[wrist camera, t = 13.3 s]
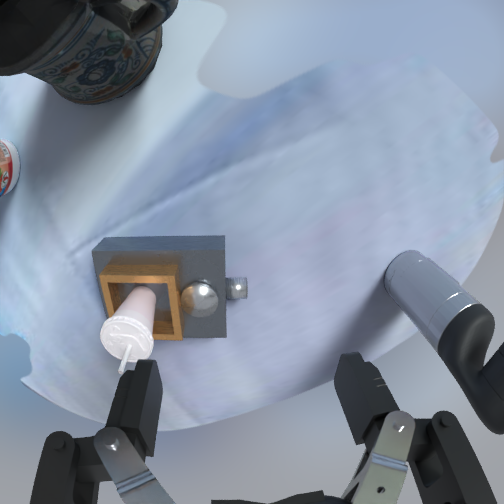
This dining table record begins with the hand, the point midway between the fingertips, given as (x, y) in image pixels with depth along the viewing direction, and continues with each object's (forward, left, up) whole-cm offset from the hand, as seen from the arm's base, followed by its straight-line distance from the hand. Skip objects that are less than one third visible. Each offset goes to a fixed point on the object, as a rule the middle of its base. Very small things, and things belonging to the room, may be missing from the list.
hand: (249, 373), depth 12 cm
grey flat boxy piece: (+8, +12, -30) cm, 34 cm away
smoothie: (+12, +12, -25) cm, 31 cm away
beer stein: (+16, -23, -30) cm, 41 cm away
